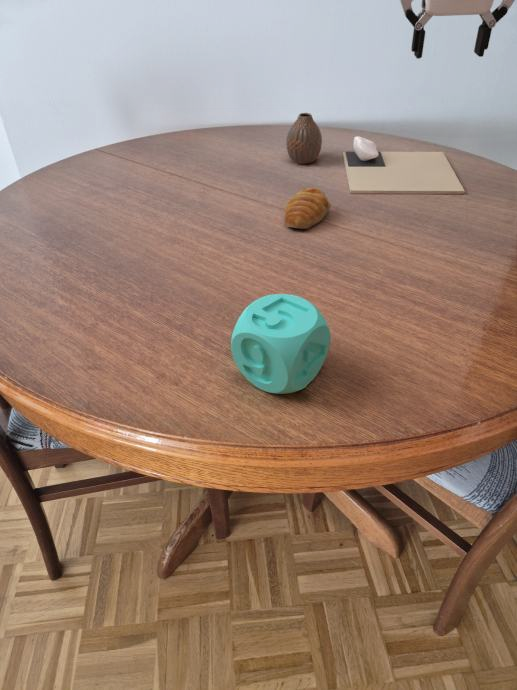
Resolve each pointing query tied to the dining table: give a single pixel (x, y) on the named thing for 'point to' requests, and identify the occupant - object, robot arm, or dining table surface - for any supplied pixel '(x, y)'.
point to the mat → (401, 174)
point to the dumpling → (365, 148)
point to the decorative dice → (280, 343)
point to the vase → (304, 140)
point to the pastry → (306, 208)
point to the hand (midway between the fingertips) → (447, 55)
